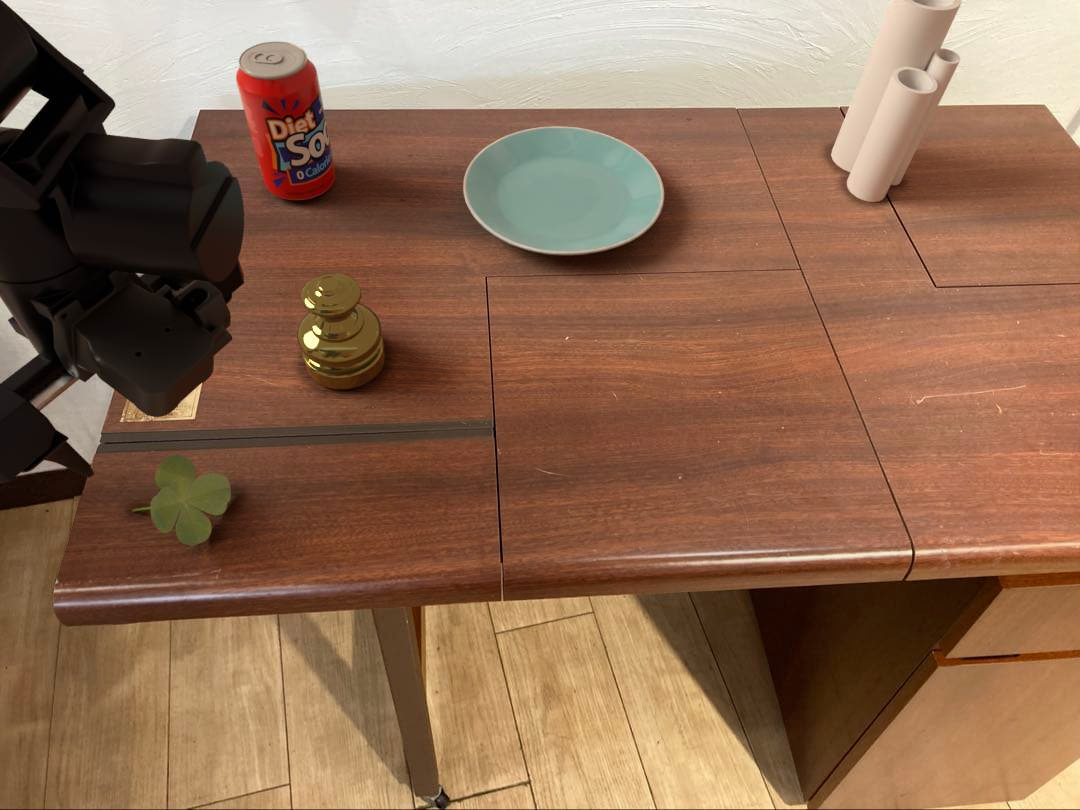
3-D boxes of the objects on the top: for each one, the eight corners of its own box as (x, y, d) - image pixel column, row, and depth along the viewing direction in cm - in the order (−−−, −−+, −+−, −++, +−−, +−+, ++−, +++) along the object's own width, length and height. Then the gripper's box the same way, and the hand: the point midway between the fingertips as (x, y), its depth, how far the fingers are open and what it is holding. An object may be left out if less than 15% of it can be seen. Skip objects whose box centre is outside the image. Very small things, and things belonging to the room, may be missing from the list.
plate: (430, 238, 86) (428, 218, 84) (507, 127, 99) (507, 106, 97) (628, 297, 83) (631, 277, 80) (681, 173, 95) (686, 153, 93)
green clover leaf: (190, 538, 69) (244, 527, 66) (106, 569, 62) (163, 559, 59) (167, 457, 69) (220, 443, 66) (80, 480, 62) (136, 465, 59)
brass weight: (341, 320, 79) (324, 242, 71) (402, 353, 77) (391, 276, 69) (288, 368, 75) (264, 291, 67) (350, 404, 73) (333, 329, 65)
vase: (822, 144, 100) (885, -21, 84) (877, 141, 101) (949, -22, 85) (856, 202, 94) (930, 36, 78) (914, 200, 95) (1000, 34, 79)
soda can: (277, 159, 93) (246, 33, 81) (344, 166, 93) (323, 41, 81) (256, 202, 88) (219, 75, 77) (327, 210, 88) (301, 83, 76)
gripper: (-12, 442, 34) (121, 595, 46) (285, 203, 44) (329, 381, 57) (-179, 335, 37) (-12, 506, 49) (136, 134, 47) (208, 318, 60)
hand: (142, 423), depth 54 cm, fingers open, 9 cm apart
